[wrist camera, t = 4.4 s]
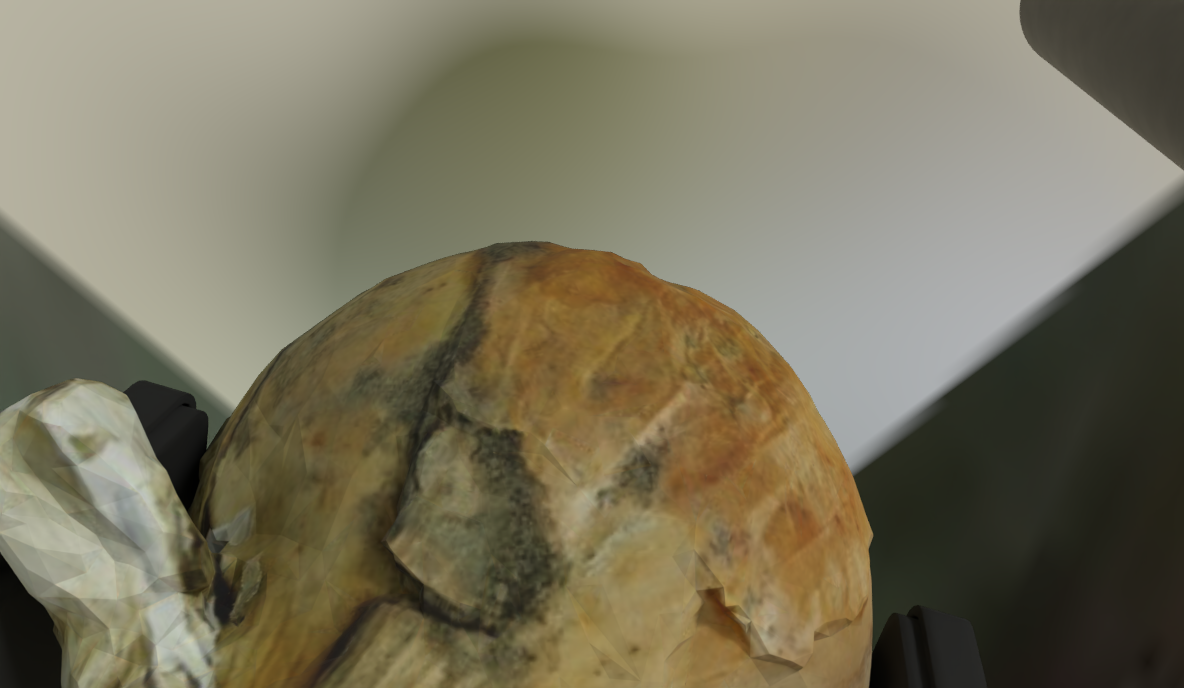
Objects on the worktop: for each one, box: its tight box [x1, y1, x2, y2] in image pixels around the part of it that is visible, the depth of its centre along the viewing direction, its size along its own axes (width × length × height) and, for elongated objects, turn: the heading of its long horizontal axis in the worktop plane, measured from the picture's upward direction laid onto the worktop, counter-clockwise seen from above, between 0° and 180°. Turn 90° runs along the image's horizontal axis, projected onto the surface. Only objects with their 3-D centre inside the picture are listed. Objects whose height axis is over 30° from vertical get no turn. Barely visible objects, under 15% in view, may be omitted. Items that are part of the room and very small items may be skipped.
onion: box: [0, 241, 873, 688], centre depth 11 cm, size 8×8×8 cm
